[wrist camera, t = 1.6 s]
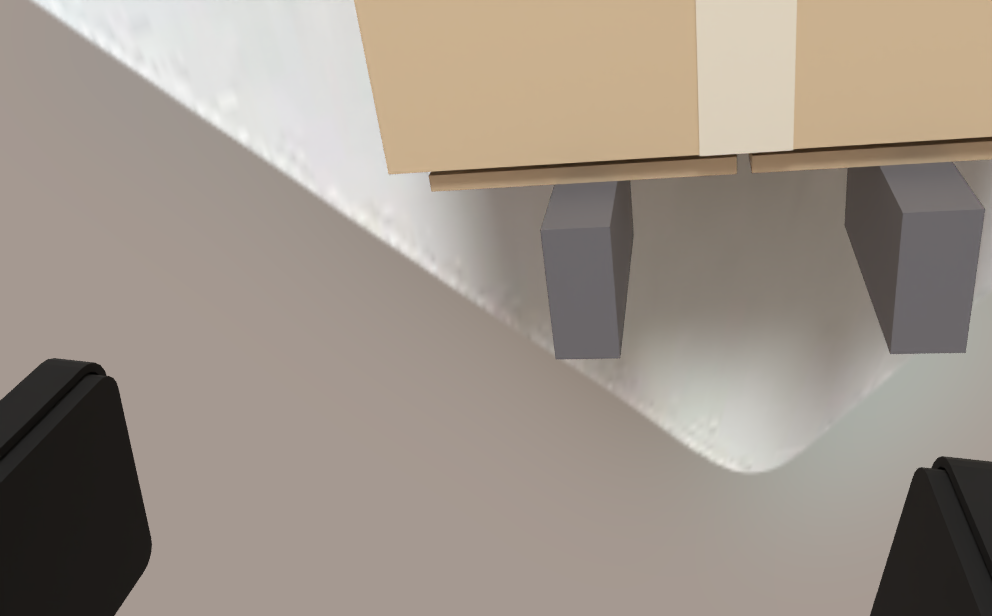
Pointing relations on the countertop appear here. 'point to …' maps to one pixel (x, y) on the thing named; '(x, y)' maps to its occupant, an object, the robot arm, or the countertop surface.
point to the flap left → (587, 237)
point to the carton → (668, 77)
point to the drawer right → (908, 232)
